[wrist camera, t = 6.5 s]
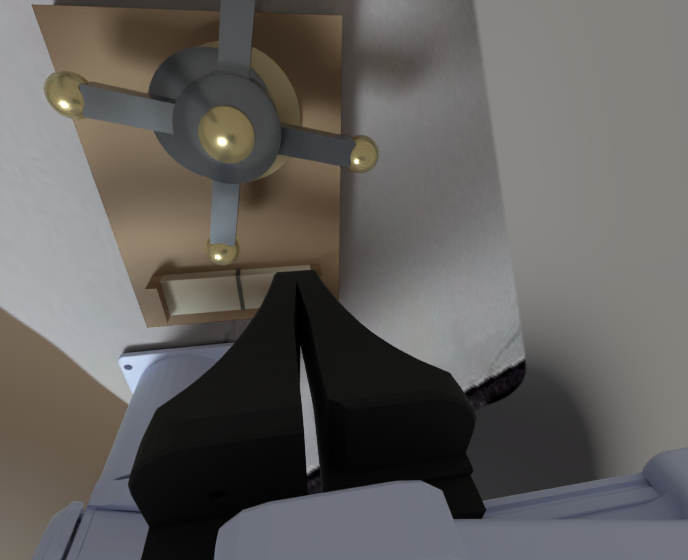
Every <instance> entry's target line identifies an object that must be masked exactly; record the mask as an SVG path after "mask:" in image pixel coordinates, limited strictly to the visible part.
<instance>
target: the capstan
mask: <svg viewBox="0 0 688 560" xmlns="http://www.w3.org/2000/svg"><path fill="white" fill-rule="evenodd" d="M255 10H256V0H221V2H220V25H219V47H218V48H214V47H193V48H188V49H184V50H181V51H179V52H177V53H174V54H173V55H171V56H170V57H168V58H167V59H166V60H165V61H164V62H163V63H162V64H161V65H160V66H159V67H158V69H157V70H156V71H155V73H154V75H153V77H152V79H151V83H150V86H149V90H148V93H144V92H139V91H135V90H130V89H125V88H121V87H116V86H111V85H107V84H102V83H98V82H93V81H91V82H89V81H88V80H86V79H85V78H84V77H82V76H81V75H79V74H77V73H74V72H71V71H58V72H55V73H52V74H51V75H50V76H49V77H48V78H47V79H46V81H45V84H44V93H45V97H46V99H47V101H48V103H49V104H50V105H51V107H52V108H53V109H54V110H56V111H57V112H58V113H59V114H61V115H63V116H65V117H67V118H71V119H76V120H81V119H86V118H90V119H96V120H101V121H106V122H111V123H117V124H122V125H127V126H132V127H138V128H143V129H148V130H153V131H154V133H155V135H156V137H157V139H158V141H159V142H160V144H161V145H162V147H163V148H164V149H165V151H166V152H167V153H168V154H169V155H170V156H171V157H172V158H173V159H174V160H175V161H176V162H178V163H179V164H180V165H182V166H183V167H185V168H186V169H188V170H190V171H192V172H194V173H196V174H199V175H202V176H205V177H208V178H210V179H212V180H213V182H212V204H211V227H210V238H209V239H208V240H207V242H206V246H205V251H206V254H207V256H208V258H209V259H210V260H211V261H212V262H213V263H215V264H218V265H228V264H231V263H233V262H234V261H235V260H236V259H237V258H238V256H239V253H240V245H239V242H238V241H237V239H236V234H237V222H238V211H239V199H240V187H241V183H246V182H250V181H252V180H255V179H257V178H258V177H260V176H262V175H263V174H264V173H265V172H267V171H268V169H269V168H270V167H271V166H272V164H273V163H274V162H275V160H276V158H277V155H278V154H279V155H284V156H289V157H295V158H300V159H305V160H310V161H316V162H321V163H326V164H331V165H337V166H342V167H347V168H349V169H350V170H352V171H354V172H357V173H365V172H367V171H369V170H371V169H372V168H373V167H374V166H375V165H376V163H377V161H378V157H379V151H378V147H377V145H376V143H375V142H374V141H373V140H372V139H371V138H370V137H368V136H364V135H358V136H355V137H353V138H351V137H349V136H344V135H340V134H335V133H330V132H326V131H321V130H317V129H312V128H307V127H303V126H298V125H293V124H289V123H284V122H280V120H279V114H278V111H277V107H276V105H275V103H274V101H273V99H272V97H271V95H270V93H269V90H268V88H267V86H266V85H265V83H264V81H263V80H262V78H261V77H260V76H259V74H258V73H257V72H256V71H255V70H254V69H253V68H252V67H251V57H252V45H253V34H254V22H255Z"/></svg>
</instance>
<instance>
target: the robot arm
mask: <svg viewBox="0 0 688 560" xmlns="http://www.w3.org/2000/svg"><path fill="white" fill-rule="evenodd" d="M300 345H301V350H302V354H303V359H304V364H305V369H306V373H307V378H308V383H309V388H310V392H311V397H312V403H313V409H314V417H315V426H316V436H317V445H318V455H319V464H320V474H321V484H322V493H320V494H313V495H308V489H307V473H306V456H305V440H304V426H303V414H302V403H301V394H300ZM118 363H119V365H120V367H121V370H122V372H123V374H124V376H125V379H126V381H127V383H128V385H129V388H130V390H131V392H132V394H133V396H132V399H131V401H130V404H129V406H128V409H127V411H126V414H125V417H124V419H123V421H122V424H121V427H120V429H119V432H118V434H117V437H116V439H115V442H114V444H113V447H112V450H111V452H110V455H109V457H108V460H107V462H106V465H105V467H104V470H103V473H102V475H101V478H100V480H99V481H97V483H96V485H95V488H94V490H93V493H92V496H91V498H90V500H89V503H88V505H87V508H86V510H83V509H82V508H83V505H84V503H82V502H76V501H74V502H71V503H70V504H69V505H68V507H67V508H64V509H63V510H61V511H60V512H58V513H57V514H55V515H54V516H53V517H52V519H51V521H50V522H49V524H48V526H47V529H46V530H45V532H44V534H43V536H42V538H41V540H40V542H39V544H38V547H37V549H36V551H35V553H34V555H33V557H32V559H31V560H688V447H686V448H681V449H675V450H669V451H665V452H662V453H659V454H657V455H655V456H654V457H652V458H651V459H650V460H649V461H648V462H647V463H646V465H645V466H644V468H643V471H642V472H641V473H635V474H630V475H624V476H618V477H613V478H608V479H602V480H597V481H591V482H585V483H580V484H574V485H568V486H563V487H558V488H552V489H547V490H541V491H535V492H530V493H525V494H518V495H513V496H507V497H502V498H496V499H491V500H485V501H482V499H481V497H480V495H479V493H478V491H477V488H476V486H475V484H474V482H473V480H472V478H471V476H470V474H472V472H473V468H472V465H471V463H470V461H469V459H468V457H467V455H466V451H467V448H468V445H469V442H470V440H471V437H472V434H473V431H474V428H475V423H476V416H475V412H474V409H473V407H472V406H471V404H470V402H469V400H468V398H467V397H466V395H465V394H464V392H463V390H462V389H461V387H460V386H459V385H458V383H457V382H456V381H455V379H454V378H453V377H452V375H451V374H450V373H449V372H447V371H444V370H442V369H439V368H437V367H435V366H432V365H430V364H427V363H425V362H423V361H420V360H418V359H416V358H414V357H412V356H410V355H408V354H406V353H405V352H403V351H401V350H399V349H397V348H396V347H394V346H392V345H390V344H389V343H387V342H386V341H384V340H383V339H381V338H380V337H378V336H377V335H375V334H374V333H372V332H371V331H370V330H368V329H367V328H366V327H365V326H363V325H362V324H361V323H360V322H359V321H358V320H357V319H355V318H354V317H353V316H352V315H351V314H350V313H349V312H348V311H347V310H346V309H345V308H344V307H343V306H342V305H341V304H340V302H339V301H338V300H337V299H336V298H335V297H334V296H333V294H332V293H331V292H330V291H329V290H328V288H327V287H326V286H325V284H324V283H323V281H322V280H321V279H320V277H319V275H318V274H317V272H316V271H315V270H301V271H287V272H277V273H276V274H275V275H274V276H273V280H272V283H271V286H270V288H269V290H268V292H267V295H266V296H265V298H264V300H263V302H262V304H261V306H260V308H259V309H258V311H257V313H256V314H255V316H254V317H253V319H252V320H251V322H250V324H249V325H248V326H247V328H246V329H245V331H244V332H243V333H242V334H241V336H240V337H239V338H238V339H237V341H236V342H235V343H223V344H213V345H202V346H192V347H182V348H172V349H162V350H152V351H141V352H131V353H124V354H121V355H120V357H119V359H118ZM127 364H128V365H127ZM129 365H131V366H129Z"/></svg>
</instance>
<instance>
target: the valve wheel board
mask: <svg viewBox="0 0 688 560" xmlns="http://www.w3.org/2000/svg"><path fill="white" fill-rule="evenodd" d="M31 5H32V7H33V10H34V13H35V16H36V19H37V21H38V24H39V27H40V30H41V33H42V35H43V38H44V41H45V44H46V47H47V49H48V52H49V55H50V58H51V60H52V63H53V66H54V69H55V72H58V71H71V72H74V73H77V74H79V75H81V76H82V77H84V78H85V79H86V80H88V81H89V82H91V81H93V82H98V83H102V84H107V85H111V86H116V87H121V88H125V89H130V90H135V91H139V92H144V93H148V90H149V86H150V83H151V79H152V77H153V75H154V73H155V71H156V70H157V69H158V67H159V66H160V65H161V64H162V63H163V62H164V61H165V60H166V59H167V58H168V57H170V56H171V55H173V54H174V53H177V52H179V51H181V50H184V49H188V48H193V47H214V48H218V47H219V25H220V11H200V10H172V9H144V8H116V7H88V6H61V5H33V4H31ZM251 67H252V68H253V69H254V70H255V71H256V72H257V73H258V74H259V76H260V77H261V78H262V80H263V81H264V83H265V85H266V86H267V88H268V90H269V93H270V95H271V97H272V99H273V101H274V103H275V105H276V107H277V111H278V114H279V120H280V122H284V123H289V124H293V125H298V126H303V127H307V128H312V129H317V130H321V131H326V132H330V133H335V134H340V135H341V81H342V16H338V15H311V14H283V13H255V22H254V34H253V45H252V57H251ZM73 122H74V125H75V127H76V130H77V133H78V136H79V139H80V141H81V144H82V147H83V150H84V153H85V155H86V158H87V161H88V164H89V167H90V169H91V172H92V175H93V178H94V181H95V183H96V186H97V189H98V192H99V194H100V197H101V200H102V203H103V206H104V208H105V211H106V214H107V217H108V220H109V222H110V225H111V228H112V231H113V234H114V236H115V239H116V242H117V245H118V247H119V250H120V253H121V256H122V259H123V261H124V264H125V267H126V270H127V273H128V275H129V278H130V281H131V284H132V287H133V289H134V292H135V295H136V298H137V301H138V303H139V306H140V309H141V312H142V314H143V317H144V320H145V323H146V326H147V328H149V327H160V326H171V325H183V324H194V323H205V322H216V321H227V320H239V319H250V318H253V317H254V316H255V314H256V313H257V311H258V309H259V308H260V306H261V304H262V302H263V300H264V298H265V296H266V295H267V292H268V290H269V288H270V286H271V283H272V280H273V276H274V275H275V274H276V273H277V272H287V271H301V270H315V271H316V272H317V274H318V275H319V277H320V279H321V280H322V281H323V283H324V284H325V286H326V287H327V288H328V290H329V291H330V292H331V293H332V294H333V296H334V297H335V298H336V299H337V300H338V301H339V228H340V166H337V165H331V164H326V163H321V162H316V161H310V160H305V159H300V158H295V157H289V156H284V155H279V154H278V155H277V158H276V160H275V162H274V163H273V164H272V166H271V167H270V168H269V169H268V171H267V172H265V173H264V174H263V175H262V176H260V177H258V178H257V179H255V180H252V181H250V182H246V183H241V187H240V199H239V211H238V222H237V234H236V239H237V241H238V242H239V245H240V253H239V256H238V258H237V259H236V260H235V261H234V262H233V263H231V264H228V265H218V264H215V263H213V262H212V261H211V260H210V259H209V258H208V256H207V254H206V251H205V246H206V242H207V240H208V239H209V238H210V227H211V204H212V182H213V180H212V179H210V178H208V177H205V176H202V175H199V174H196V173H194V172H192V171H190V170H188V169H186V168H185V167H183V166H182V165H180V164H179V163H178V162H176V161H175V160H174V159H173V158H172V157H171V156H170V155H169V154H168V153H167V152H166V151H165V149H164V148H163V147H162V145H161V144H160V142H159V141H158V139H157V137H156V135H155V133H154V131H153V130H148V129H143V128H138V127H132V126H127V125H122V124H117V123H111V122H106V121H101V120H96V119H90V118H86V119H81V120H76V119H73Z"/></svg>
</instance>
